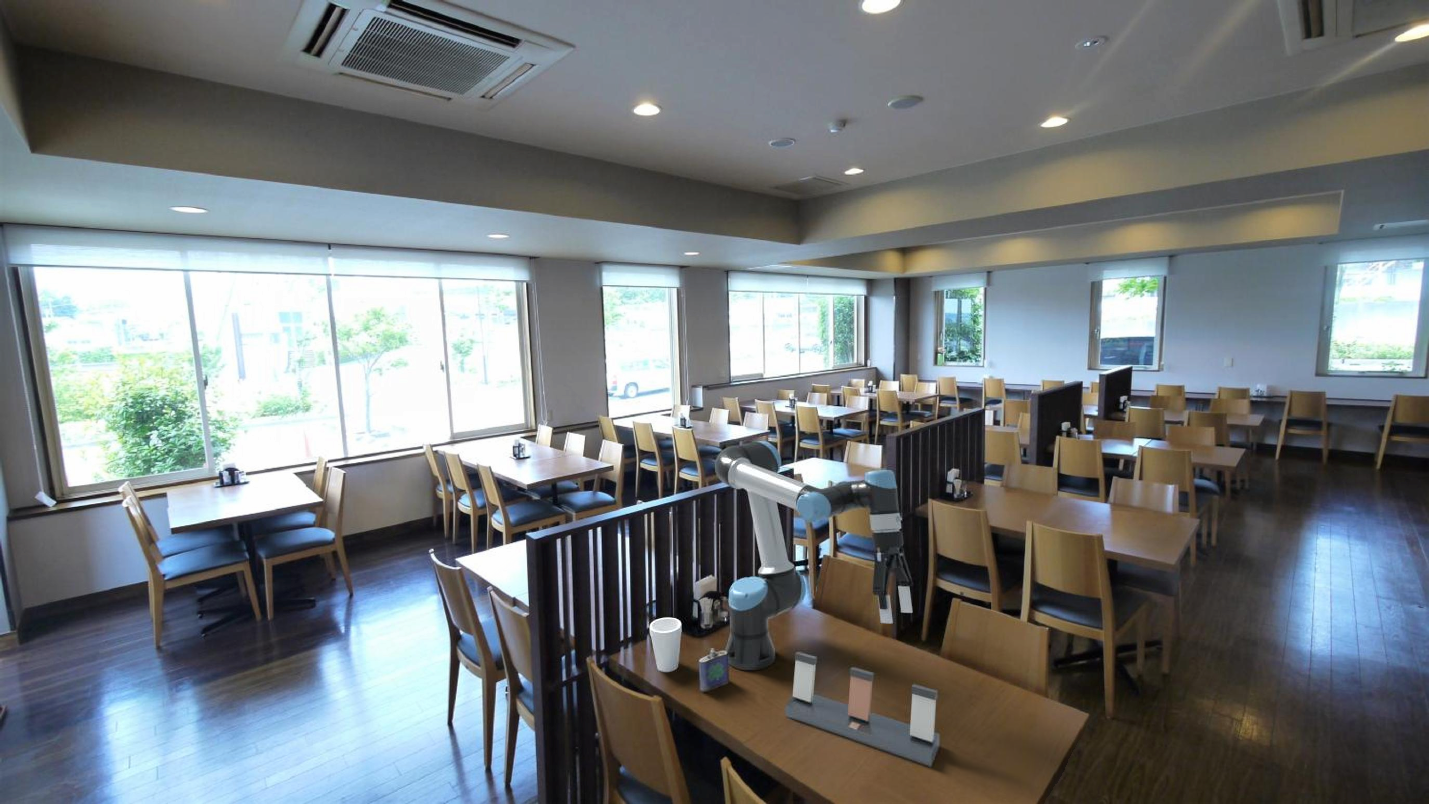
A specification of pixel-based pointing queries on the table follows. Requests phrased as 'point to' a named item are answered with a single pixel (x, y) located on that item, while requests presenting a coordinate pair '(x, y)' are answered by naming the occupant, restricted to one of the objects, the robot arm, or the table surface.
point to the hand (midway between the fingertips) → (897, 617)
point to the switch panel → (864, 728)
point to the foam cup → (666, 643)
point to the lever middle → (860, 693)
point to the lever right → (923, 712)
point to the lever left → (804, 676)
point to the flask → (713, 670)
